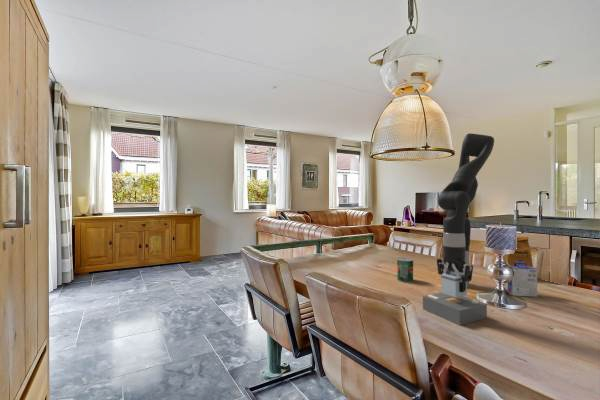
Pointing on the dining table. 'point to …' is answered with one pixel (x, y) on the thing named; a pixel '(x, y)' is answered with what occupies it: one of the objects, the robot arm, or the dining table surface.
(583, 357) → the dining table surface
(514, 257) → the coffee package
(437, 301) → the box
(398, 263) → the canned tomato
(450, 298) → the breaker button
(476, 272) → the dining table surface
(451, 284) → the cap
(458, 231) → the robot arm
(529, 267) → the ink cartridge box
